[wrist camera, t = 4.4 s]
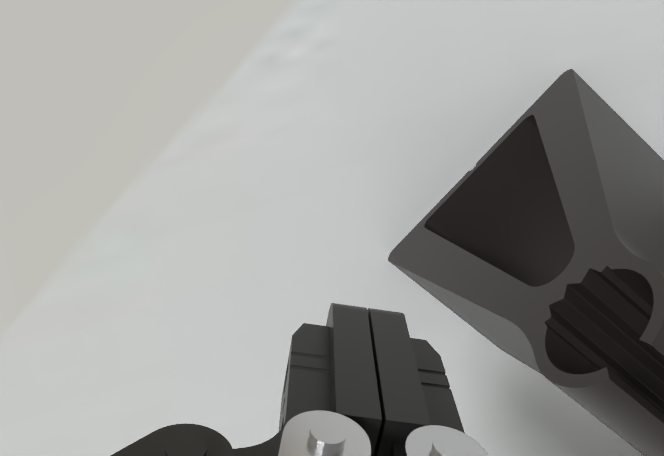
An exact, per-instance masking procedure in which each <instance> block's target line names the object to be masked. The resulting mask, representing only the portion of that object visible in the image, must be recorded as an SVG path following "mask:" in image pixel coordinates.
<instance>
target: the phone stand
mask: <svg viewBox="0 0 664 456" xmlns="http://www.w3.org/2000/svg"><path fill="white" fill-rule="evenodd" d="M388 261H389V262H391V263H392V264H393V265H395V266H396V267H397V268H398V269H400V270H401V271H402V272H403V273H405V274H406V275H407V276H409V277H410V278H411V279H412V280H414V281H415V282H416V283H417V284H419V285H420V286H421V287H422V288H424V289H425V290H426V291H428V292H429V293H430V294H431V295H433V296H434V297H435V298H436V299H438V300H439V301H440V302H441V303H443V304H444V305H445V306H447V307H448V308H449V309H450V310H452V311H453V312H454V313H455V314H457V315H458V316H459V317H461V318H462V319H463V320H464V321H466V322H467V323H468V324H469V325H471V326H472V327H473V328H474V329H476V330H477V331H478V332H480V333H481V334H482V335H483V336H485V337H486V338H487V339H488V340H490V341H491V342H492V343H494V344H495V345H496V346H497V347H499V348H500V349H501V350H503V351H504V352H506V353H508V354H509V355H511V356H513V357H514V358H516V359H518V360H519V361H521V362H523V363H524V364H526V365H528V366H529V367H531V368H533V369H534V370H536V371H538V372H539V373H541V374H543V375H544V376H545V377H546V378H547V379H548V380H549V381H551V382H552V383H553V384H555V385H556V386H557V387H558V388H560V389H561V390H562V391H563V392H565V393H566V394H567V395H568V396H570V397H571V398H572V399H573V400H575V401H576V402H577V403H579V404H580V405H581V406H582V407H584V408H585V409H586V410H587V411H589V412H590V413H591V414H592V415H594V416H595V417H596V418H597V419H599V420H600V421H601V422H602V423H604V424H605V425H606V426H608V427H609V428H610V429H611V430H613V431H614V432H615V433H616V434H618V435H619V436H620V437H621V438H623V439H624V440H625V441H626V442H628V443H629V444H630V445H631V446H633V447H634V448H635V449H637V450H638V451H639V452H640V453H642V454H643V455H644V456H664V160H663V159H662V158H661V157H660V156H659V155H658V154H657V153H656V152H655V151H654V150H653V149H652V148H651V147H650V146H649V145H648V144H647V143H646V142H645V141H644V140H643V139H642V138H641V137H640V136H639V135H638V134H637V133H636V132H635V131H634V130H633V129H632V128H631V127H630V126H629V125H628V124H627V123H626V122H625V121H624V120H623V119H622V118H621V117H620V116H619V115H618V114H617V113H616V112H615V111H614V110H613V109H612V108H611V107H610V106H609V105H608V104H607V103H606V102H605V101H604V100H603V99H602V98H601V97H600V96H599V95H598V94H597V93H596V92H595V91H594V90H593V89H592V88H591V87H590V86H589V85H588V84H587V83H586V82H585V81H584V80H583V79H582V78H581V77H580V76H579V75H578V74H577V73H576V72H575V71H574V70H572V69H570V70H567V71H566V72H564V73H563V74H562V75H561V76H560V77H559V78H558V79H557V80H556V81H555V82H554V83H553V84H552V85H551V86H550V87H549V88H548V89H547V90H546V91H545V92H544V93H543V94H542V95H541V97H540V98H539V99H538V100H537V101H536V102H535V103H534V104H533V105H532V106H531V107H530V108H529V109H528V110H527V111H526V112H525V113H524V114H523V115H522V116H521V117H520V118H519V119H518V120H517V121H516V123H515V124H514V125H513V126H512V127H511V128H510V129H509V130H508V131H507V132H506V133H505V134H504V135H503V136H502V137H501V138H500V139H499V140H498V141H497V142H496V143H495V144H494V145H493V146H492V147H491V149H490V150H489V151H488V152H487V153H486V154H485V155H484V156H483V157H482V158H481V159H480V160H479V161H478V162H477V164H476V166H475V168H474V169H473V170H471V171H468V172H467V173H466V175H465V176H464V177H463V178H462V179H461V180H460V181H459V182H458V183H457V184H456V185H455V186H454V187H453V188H452V189H451V190H450V191H449V192H448V193H447V194H446V195H445V196H444V197H443V198H442V199H441V201H440V202H439V203H438V204H437V205H436V206H435V207H434V208H433V209H432V210H431V211H430V212H429V213H428V214H427V215H426V216H425V217H424V218H423V219H422V220H421V221H420V222H419V223H418V224H417V225H416V227H415V228H414V229H413V230H412V231H411V232H410V233H409V234H408V235H407V236H406V237H405V238H404V239H403V240H402V241H401V242H400V243H399V244H398V245H397V246H396V247H395V248H394V249H393V250H392V252H391V253H390V255H389V258H388Z"/></svg>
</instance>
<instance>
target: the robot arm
mask: <svg viewBox="0 0 664 456" xmlns="http://www.w3.org/2000/svg"><path fill="white" fill-rule="evenodd" d="M449 387H450V385H449V382H448V379H447V376H446V375H445V369H444V366H443V363H442V360H441V357H440V355H439V354H438V353H437V352H436V351H435V350H434V349H433V347H432V346H431V345H430V344H429V343H428V342H427V341H426V340H421V339H414V338H410V336H409V332H408V328H407V324H406V320H405V316H404V314H403V313H398V312H391V311H384V310H377V309H370V308H368V310H367V309H366V308H363V307H356V306H349V305H342V304H335V303H331V306H330V309H329V314H328V319H327V324H326V326H320V325H313V324H306V323H304V324H303V325H302V326H301V327H300V328H299V329H298V330H297V331H296V332H295V333H294V334H293V335H292V341H291V347H290V353H289V359H288V365H287V370H286V376H285V382H284V388H283V394H282V402H281V413H280V423H279V433H277V434H276V435H275V436H274V437H273V438H271V439H270V440H268V441H266V442H264V443H262V444H259V445H255V446H251V447H246V448H238V449H232V447H231V445H230V443H229V442H228V441H227V439H226V438H225V437H224V436H222V435H221V434H220V433H218V432H217V431H215V430H213V429H210V428H208V427H205V426H201V425H195V424H176V425H170V426H167V427H163V428H161V429H158V430H156V431H154V432H152V433H151V434H149V435H147V436H145V437H143V438H142V439H140V440H138V441H136V442H134V443H133V444H131V445H129V446H127V447H125V448H123V449H122V450H120V451H118V452H116V453H114V454H113V455H111V456H489V455H488V453H487V452H486V450H485V449H484V448H483V447H482V446H481V445H480V444H479V443H478V442H477V441H476V440H474V439H473V438H472V437H470V436H468V435H467V434H465V433H464V430H463V427H462V423H461V420H460V417H459V414H458V411H457V408H456V404H455V401H454V398H453V395H452V392H451V389H449Z"/></svg>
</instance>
